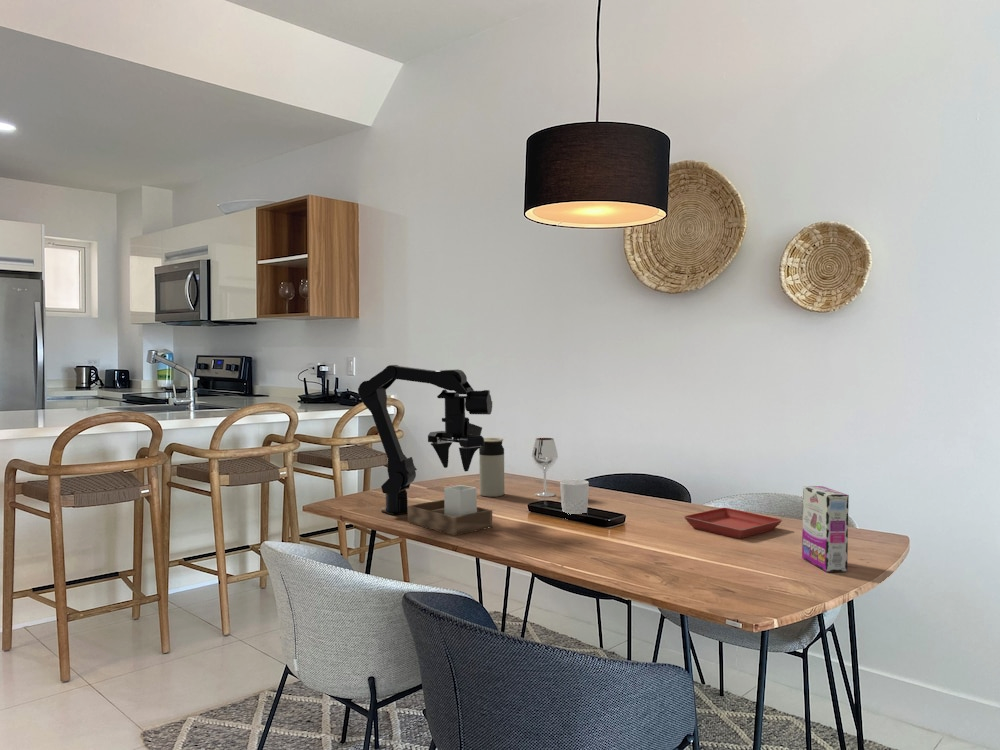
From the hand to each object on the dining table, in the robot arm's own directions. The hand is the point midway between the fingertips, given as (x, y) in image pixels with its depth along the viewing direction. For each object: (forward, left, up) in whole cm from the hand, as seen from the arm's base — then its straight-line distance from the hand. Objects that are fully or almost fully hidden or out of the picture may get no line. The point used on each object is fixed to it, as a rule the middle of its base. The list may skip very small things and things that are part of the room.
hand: (455, 469), depth 215 cm
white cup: (+25, +22, -13) cm, 36 cm away
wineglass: (-3, +39, -13) cm, 41 cm away
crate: (+7, -8, -13) cm, 17 cm away
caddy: (+12, -8, -13) cm, 19 cm away
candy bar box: (+93, +27, -13) cm, 98 cm away
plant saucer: (+62, +42, -14) cm, 76 cm away
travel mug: (-15, +27, -13) cm, 34 cm away
